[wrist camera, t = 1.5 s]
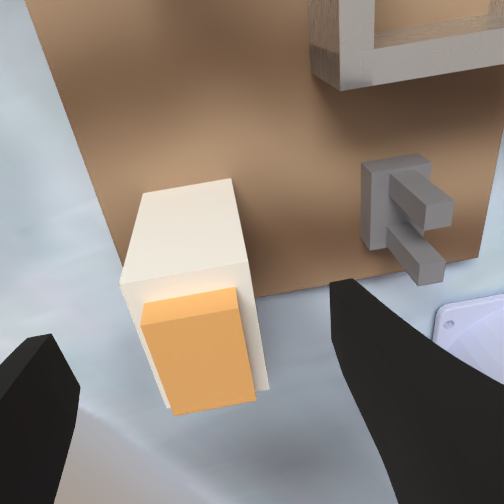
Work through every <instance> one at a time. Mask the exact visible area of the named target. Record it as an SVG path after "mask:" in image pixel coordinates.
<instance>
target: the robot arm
mask: <svg viewBox="0 0 504 504" xmlns="http://www.w3.org/2000/svg"><path fill="white" fill-rule="evenodd" d="M329 288H330V314H331V340H332V343H333V346H334V349H335V352H336V355H337V358H338V361H339V364H340V367H341V370H342V373H343V376H344V378H345V380H346V382H347V384H348V387H349V389H350V391H351V393H352V395H353V397H354V400H355V402H356V404H357V406H358V408H359V410H360V412H361V415H362V417H363V419H364V421H365V423H366V425H367V427H368V430H369V432H370V434H371V436H372V438H373V440H374V442H375V445H376V447H377V449H378V451H379V453H380V456H381V458H382V460H383V463H384V465H385V468H386V470H387V473H388V475H389V478H390V481H391V484H392V487H393V489H394V492H395V495H396V498H397V500H398V503H399V504H504V294H499V295H494V296H489V297H483V298H478V299H472V300H467V301H461V302H456V303H451V304H446V305H443V306H442V307H440V308H439V310H438V311H437V313H436V320H435V327H434V334H433V341H431V340H430V339H429V338H427V337H426V336H424V335H423V334H422V333H420V332H419V331H418V330H416V329H415V328H414V327H412V326H411V325H410V324H408V323H407V322H406V321H404V320H403V319H402V318H400V317H399V316H398V315H397V314H395V313H394V312H393V311H391V310H390V309H389V308H388V307H387V306H385V305H384V304H383V303H382V302H380V301H379V300H378V299H377V298H376V297H374V296H373V295H372V294H371V293H370V292H369V291H367V290H366V289H365V288H364V287H363V286H361V285H360V284H359V283H358V282H357V281H355V280H354V279H353V278H350V279H345V280H340V281H334V282H329ZM447 321H448V322H447ZM446 322H447V323H446ZM79 395H80V385H79V383H78V381H77V380H76V378H75V376H74V374H73V372H72V370H71V369H70V367H69V365H68V363H67V361H66V359H65V357H64V356H63V354H62V352H61V350H60V348H59V346H58V345H57V343H56V341H55V339H54V337H53V335H52V334H46V335H41V336H35V337H30V338H27V339H26V340H25V341H24V342H23V343H21V344H20V345H19V346H18V347H17V348H16V349H15V350H14V351H13V352H12V353H11V354H10V355H9V356H8V357H7V358H6V359H5V360H4V361H3V362H2V364H1V365H0V504H54V500H55V497H56V493H57V490H58V486H59V483H60V479H61V475H62V472H63V468H64V465H65V461H66V458H67V454H68V450H69V446H70V443H71V439H72V436H73V432H74V428H75V423H76V417H77V410H78V403H79Z"/></svg>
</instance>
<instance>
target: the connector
mask: <svg viewBox="0 0 504 504" xmlns="http://www.w3.org/2000/svg"><path fill="white" fill-rule="evenodd" d="M119 286H120V289H121V291H122V294H123V297H124V299H125V302H126V304H127V307H128V310H129V312H130V315H131V317H132V320H133V323H134V325H135V328H136V330H137V333H138V336H139V338H140V341H141V343H142V346H143V349H144V351H145V354H146V356H147V359H148V361H149V364H150V367H151V369H152V372H153V374H154V377H155V380H156V382H157V385H158V387H159V390H160V393H161V395H162V398H163V400H164V403H165V406H166V408H167V409H168V408H171V409H172V412H173V415H174V416H177V415H182V414H188V413H193V412H198V411H204V410H209V409H214V408H220V407H225V406H230V405H235V404H241V403H246V402H251V401H257V400H256V393H255V392H259V391H264V390H269V383H268V377H267V371H266V365H265V359H264V353H263V347H262V341H261V335H260V329H259V323H258V317H257V311H256V305H255V299H254V293H253V287H252V281H251V275H250V269H249V263H248V258H247V253H246V248H245V243H244V238H243V234H242V229H241V224H240V219H239V214H238V209H237V204H236V199H235V194H234V190H233V185H232V180H231V178H229V179H223V180H217V181H211V182H206V183H200V184H194V185H188V186H182V187H176V188H171V189H165V190H159V191H153V192H147V193H143V195H142V199H141V203H140V207H139V210H138V214H137V218H136V222H135V225H134V229H133V233H132V237H131V240H130V244H129V248H128V252H127V255H126V259H125V263H124V267H123V270H122V274H121V278H120V282H119Z"/></svg>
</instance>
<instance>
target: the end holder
mask: <svg viewBox="0 0 504 504" xmlns="http://www.w3.org/2000/svg"><path fill="white" fill-rule="evenodd" d="M307 15H308V34H309V54H310V72H311V73H312V74H314V75H315V76H317V77H319V78H320V79H322V80H323V81H325V82H327V83H328V84H330V85H331V86H333V87H335V88H336V89H338V90H339V91H344V90H350V89H356V88H362V87H368V86H374V85H380V84H386V83H392V82H398V81H404V80H410V79H416V78H422V77H428V76H434V75H440V74H446V73H452V72H458V71H464V70H470V69H476V68H482V67H488V66H494V65H500V64H504V0H490V4H489V10H488V14H484V15H478V16H472V17H466V18H460V19H454V20H447V21H441V22H435V23H429V24H423V25H417V26H411V27H405V28H398V29H392V30H386V31H380V32H374V18H375V0H307Z"/></svg>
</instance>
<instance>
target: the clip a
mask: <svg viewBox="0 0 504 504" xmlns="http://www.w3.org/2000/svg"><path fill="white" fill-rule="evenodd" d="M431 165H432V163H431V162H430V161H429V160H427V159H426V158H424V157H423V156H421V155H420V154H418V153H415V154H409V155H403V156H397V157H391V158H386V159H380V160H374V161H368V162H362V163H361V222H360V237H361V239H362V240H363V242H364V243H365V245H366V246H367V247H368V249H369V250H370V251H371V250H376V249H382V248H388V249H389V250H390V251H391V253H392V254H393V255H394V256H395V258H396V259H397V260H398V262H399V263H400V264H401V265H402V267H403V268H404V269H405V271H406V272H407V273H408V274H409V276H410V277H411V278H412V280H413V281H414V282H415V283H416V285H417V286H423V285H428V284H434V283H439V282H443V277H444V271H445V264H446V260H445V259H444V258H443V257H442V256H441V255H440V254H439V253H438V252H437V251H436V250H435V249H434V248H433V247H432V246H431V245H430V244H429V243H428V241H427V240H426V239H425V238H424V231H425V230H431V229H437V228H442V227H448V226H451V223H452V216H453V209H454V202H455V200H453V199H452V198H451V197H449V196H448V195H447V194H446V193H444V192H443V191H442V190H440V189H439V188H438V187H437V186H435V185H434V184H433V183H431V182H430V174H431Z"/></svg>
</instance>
